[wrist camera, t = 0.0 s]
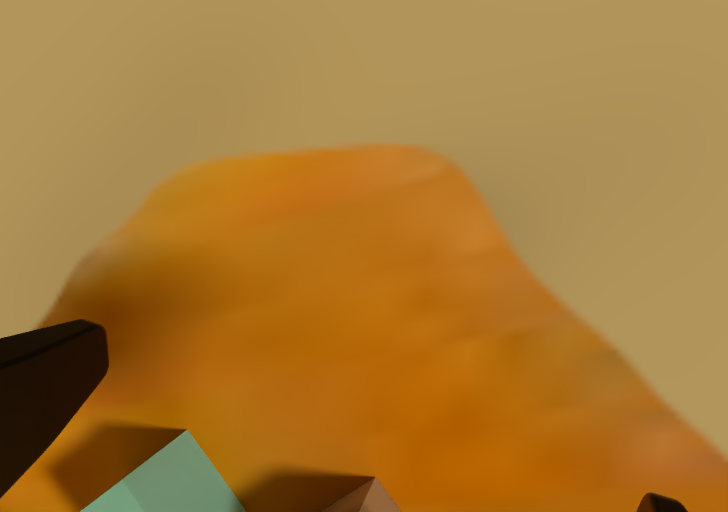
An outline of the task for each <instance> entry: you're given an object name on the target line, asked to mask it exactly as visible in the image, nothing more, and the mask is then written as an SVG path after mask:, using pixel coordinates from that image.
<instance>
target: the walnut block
mask: <svg viewBox="0 0 728 512" xmlns="http://www.w3.org/2000/svg"><path fill="white" fill-rule="evenodd" d="M320 512H401V510H400V509H399V508H398V506H397V505H396V504H395V502H394V501H393V500H392V498H391V497H390V496H389V494H388V493H387V492H386V490H385V489H384V487H383V486H382V485H381V483H380V482H379V481H378V479H377V478H376V477H375V478H373V479H371V480H370V481H368V482H367V483H365V484H363V485H362V486H360V487H359V488H357V489H355V490H354V491H352V492H351V493H349V494H347V495H346V496H344V497H342V498H341V499H339V500H338V501H336V502H334V503H333V504H331V505H330V506H328V507H326V508H325V509H323V510H322V511H320Z"/></svg>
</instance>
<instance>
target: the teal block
mask: <svg viewBox="0 0 728 512" xmlns="http://www.w3.org/2000/svg"><path fill="white" fill-rule="evenodd" d="M245 511H246V510H245V508H244V507H243V506H242V504H241V503H240V501H239V500H238V499H237V497H236V496H235V495H234V493H233V492H232V490H231V489H230V488H229V486H228V485H227V484H226V482H225V481H224V479H223V478H222V477H221V475H220V474H219V473H218V471H217V470H216V468H215V467H214V466H213V464H212V463H211V462H210V460H209V459H208V457H207V456H206V455H205V453H204V452H203V451H202V449H201V448H200V446H199V445H198V444H197V442H196V441H195V440H194V438H193V437H192V435H191V434H190V433H189V431H188V430H186V431H185V432H183V433H182V434H181V435H179V436H178V437H177V438H175V439H174V440H173V441H171V442H170V443H169V444H167V445H166V446H165V447H163V448H162V449H161V450H159V451H158V452H157V453H155V454H154V455H153V456H151V457H150V458H149V459H147V460H146V461H145V462H143V463H142V464H141V465H139V466H138V467H137V468H135V469H134V470H133V471H131V472H130V473H129V474H127V475H126V476H125V477H124V478H122V479H121V480H120V481H118V482H117V483H116V484H114V485H113V486H112V487H111V488H109V489H108V490H107V491H105V492H104V493H103V494H102V495H100V496H99V497H98V498H96V499H95V500H94V501H92V502H91V503H90V504H89V505H87V506H86V507H85V508H83V509H82V510H81V511H80V512H245Z"/></svg>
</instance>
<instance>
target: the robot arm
mask: <svg viewBox="0 0 728 512" xmlns="http://www.w3.org/2000/svg"><path fill="white" fill-rule="evenodd" d="M108 367H109V355H108V345H107V335H106V330H105V328H104V327H103V326H102V325H101V324H98V323H95V322H92V321H88V320H84V319H79V320H75V321H70V322H66V323H62V324H58V325H54V326H50V327H46V328H42V329H37V330H33V331H29V332H25V333H21V334H17V335H13V336H9V337H4V338H1V339H0V498H1V497H2V496H3V495H4V494H5V493H6V492H7V491H8V490H9V489H10V488H11V487H12V486H13V485H14V484H15V483H16V482H17V480H18V479H19V478H20V477H21V476H22V475H23V474H24V473H25V472H26V471H27V470H28V469H29V468H30V467H31V466H32V465H33V464H34V462H35V461H36V460H37V459H38V458H39V457H40V456H41V455H42V454H43V453H44V452H45V451H46V449H47V448H48V447H49V446H50V445H51V444H52V442H53V441H54V440H55V439H56V438H57V436H58V435H59V434H60V433H61V431H62V430H63V429H64V428H65V426H66V425H67V424H68V423H69V421H70V420H71V419H72V417H73V416H74V415H75V414H76V412H77V411H78V410H79V409H80V407H81V406H82V405H83V403H84V402H85V401H86V400H87V398H88V397H89V396H90V395H91V393H92V392H93V391H94V389H95V388H96V387H97V386H98V384H99V383H100V382H101V381H102V379H103V378H104V376H105V375H106V373H107V370H108ZM637 512H688V511H687V510H686V508H685V507H684V506H683V505H682V504H681V503H680V502H679V501H677V500H675V499H672V498H669V497H666V496H662V495H659V494H656V493H652V492H651V493H647V494H646V495H645V496H644V497H643V499H642V501H641V503H640V505H639V507H638V509H637Z"/></svg>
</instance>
